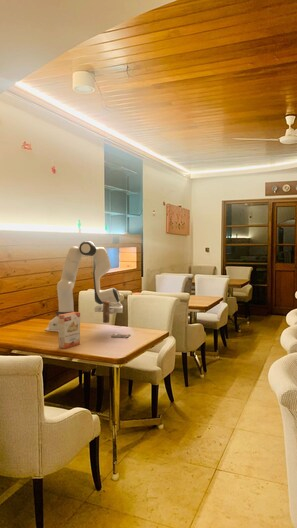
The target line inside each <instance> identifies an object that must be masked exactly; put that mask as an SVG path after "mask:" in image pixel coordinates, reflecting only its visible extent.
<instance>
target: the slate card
mask: <svg viewBox="0 0 297 528" xmlns="http://www.w3.org/2000/svg"><path fill="white" fill-rule="evenodd" d="M130 336H131V334H130V333H129V334H127V333H125V334H124V333H113V334H112V335H111V336H110V338H117V339H118V338H119V339H128V338H129V337H130Z"/></svg>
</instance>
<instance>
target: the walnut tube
mask: <svg viewBox="0 0 297 528" xmlns="http://www.w3.org/2000/svg"><path fill="white" fill-rule="evenodd" d="M102 306H103V312H102V322H103V323H104V324H108V323H110V314H109V313H110V312H109V310H110V301H103V304H102Z"/></svg>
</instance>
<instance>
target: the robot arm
mask: <svg viewBox="0 0 297 528" xmlns="http://www.w3.org/2000/svg"><path fill="white" fill-rule="evenodd" d="M83 256H87V257H88V256H89V257H93V259H94V263H95V268H94V269H95V270H94V271H93V274H92V276H93V289H94V301H95V303H96V304H98V305H96V306H94V312H97V313H103V301H110V310H109V312H110V313H109V315H113V314H123V313H124V312H123V310H124V308H123V304H122V303H121V301H120V300H121V295H120V292H119V290H118V289H117V288H115V287H111V288H108V289H103V290H101V282H100V281H101V278H102V277H103V276H104V275H106V274H107V273H108V272H109V271H110V270H111V267H112V265H111V259H110V256H109V253H108V251H107V248H105V247H103V246H99V247H97V246H96V244H95V243H94V242H93V241H90V240H85V241H83V242H81V243H80V244H79V246H71V247H69V249H68V251H67V254H66V257H65V260H64V263H63V267H62V271H61V273H62V274H61V277H60V280H58V282H57V284H56V288H57V289H56V291H57V300H58V311H55V315H56V316H55V317H53V318H52V319H51V320H50V321H49V322H48V326H47V327H46V328H45V331H47V332H56V333H57V332H58V333H59V315H61V314H66V313H71V312H75V310H74V305H75V304H74V295H73V293H74V292H73V290H74V287H75V284H76V279H77V275H78V271H79V267H80V264H81V260H82V258H83Z"/></svg>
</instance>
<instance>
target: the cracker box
mask: <svg viewBox="0 0 297 528" xmlns="http://www.w3.org/2000/svg"><path fill="white" fill-rule="evenodd" d="M80 344H81V312H79V311H74V312H71V313H66V314H61V315H59V332H58V348H60V349H64V350H65V349H68V348H71V347H74V346H75V347H76V346H78V345H80Z"/></svg>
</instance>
